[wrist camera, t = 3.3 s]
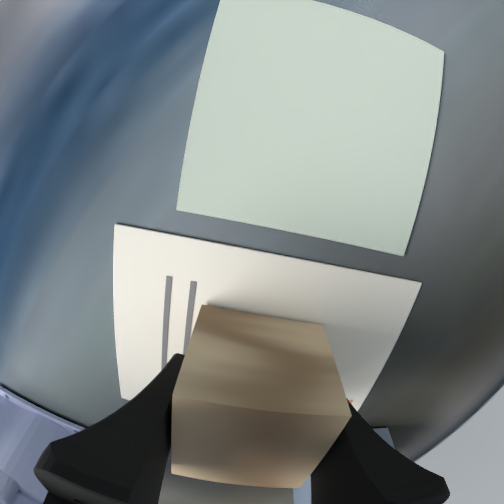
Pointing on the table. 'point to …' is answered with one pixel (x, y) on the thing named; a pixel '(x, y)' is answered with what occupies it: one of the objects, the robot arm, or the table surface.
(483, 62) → the table surface
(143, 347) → the letter
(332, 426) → the block
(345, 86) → the mat
